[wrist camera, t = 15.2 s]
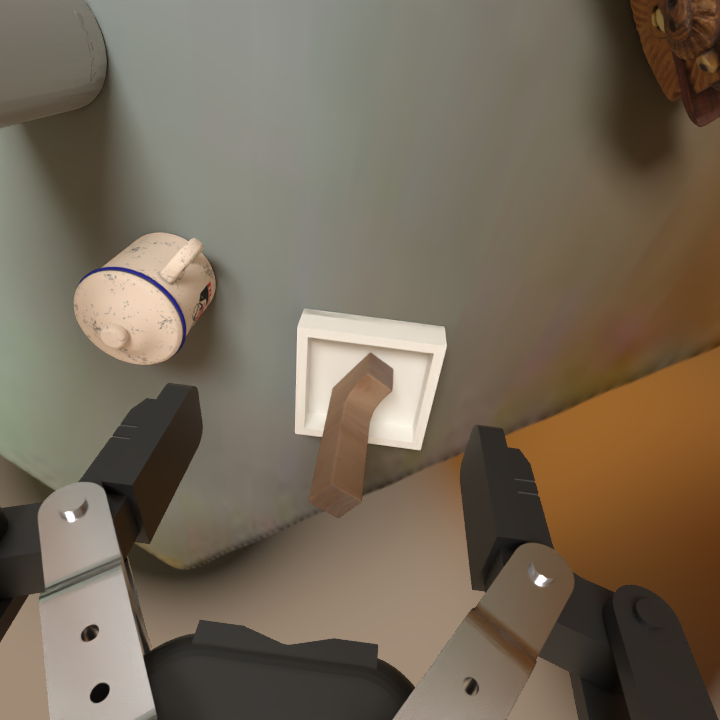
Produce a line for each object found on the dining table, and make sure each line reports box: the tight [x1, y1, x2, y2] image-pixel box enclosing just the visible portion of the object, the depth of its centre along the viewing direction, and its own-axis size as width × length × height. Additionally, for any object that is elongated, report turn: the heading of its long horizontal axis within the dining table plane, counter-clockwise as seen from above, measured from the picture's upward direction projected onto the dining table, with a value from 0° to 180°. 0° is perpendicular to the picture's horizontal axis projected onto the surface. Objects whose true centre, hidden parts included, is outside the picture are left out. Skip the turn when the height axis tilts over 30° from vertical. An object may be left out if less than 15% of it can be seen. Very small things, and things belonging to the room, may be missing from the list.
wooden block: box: [309, 353, 394, 518], centre depth 43 cm, size 7×3×15 cm, turn 141°
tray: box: [295, 308, 447, 450], centre depth 49 cm, size 14×14×4 cm
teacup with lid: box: [74, 233, 216, 365], centre depth 40 cm, size 12×9×12 cm
